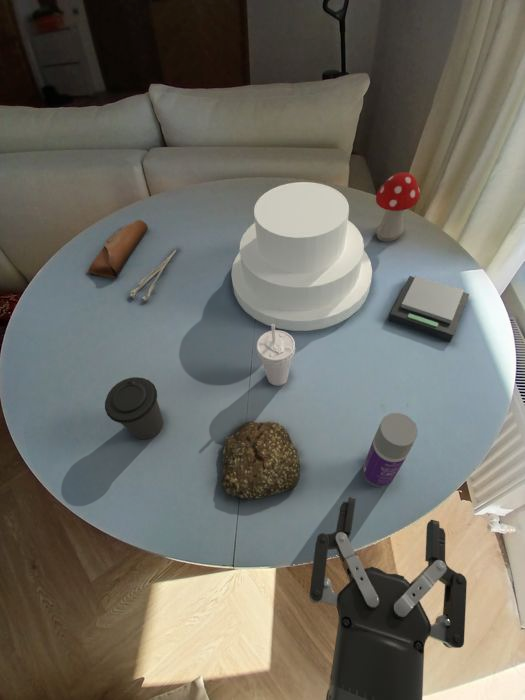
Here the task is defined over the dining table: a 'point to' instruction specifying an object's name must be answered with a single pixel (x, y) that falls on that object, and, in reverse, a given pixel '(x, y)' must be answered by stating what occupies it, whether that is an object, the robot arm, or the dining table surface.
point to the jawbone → (149, 276)
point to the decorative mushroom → (396, 204)
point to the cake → (301, 259)
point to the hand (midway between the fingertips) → (391, 510)
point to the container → (389, 449)
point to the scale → (429, 307)
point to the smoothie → (276, 354)
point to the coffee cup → (135, 407)
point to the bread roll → (259, 461)
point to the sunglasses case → (118, 250)
